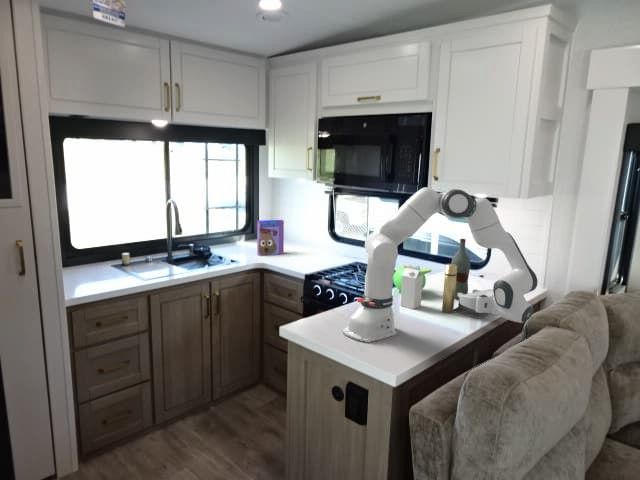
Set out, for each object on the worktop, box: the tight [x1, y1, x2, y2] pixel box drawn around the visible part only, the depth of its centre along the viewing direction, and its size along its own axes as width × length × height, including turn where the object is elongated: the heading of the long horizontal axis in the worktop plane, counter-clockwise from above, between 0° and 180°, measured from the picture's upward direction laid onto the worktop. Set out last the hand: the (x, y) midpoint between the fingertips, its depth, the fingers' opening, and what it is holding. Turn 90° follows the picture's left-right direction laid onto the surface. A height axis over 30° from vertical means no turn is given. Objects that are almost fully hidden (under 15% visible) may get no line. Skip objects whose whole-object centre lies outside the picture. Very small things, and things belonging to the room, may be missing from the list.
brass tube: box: [441, 263, 457, 315], centre depth 199 cm, size 5×5×22 cm
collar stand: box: [453, 298, 491, 320], centre depth 201 cm, size 13×13×6 cm
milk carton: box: [399, 265, 423, 310], centre depth 206 cm, size 7×7×19 cm
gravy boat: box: [393, 264, 433, 292], centre depth 227 cm, size 18×17×15 cm
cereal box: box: [256, 219, 285, 257], centre depth 303 cm, size 17×5×24 cm, turn 113°
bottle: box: [450, 238, 471, 301], centre depth 219 cm, size 9×9×30 cm
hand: (466, 292), depth 191 cm, fingers open, 8 cm apart
